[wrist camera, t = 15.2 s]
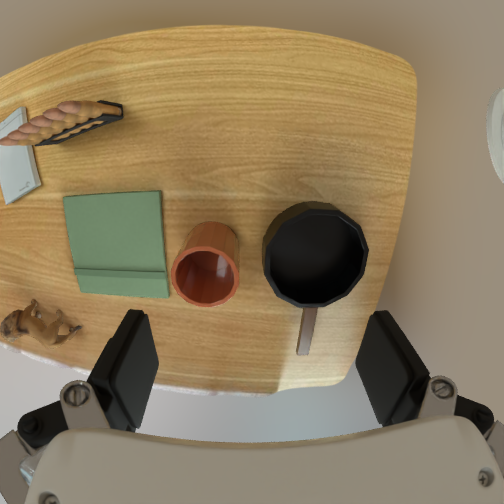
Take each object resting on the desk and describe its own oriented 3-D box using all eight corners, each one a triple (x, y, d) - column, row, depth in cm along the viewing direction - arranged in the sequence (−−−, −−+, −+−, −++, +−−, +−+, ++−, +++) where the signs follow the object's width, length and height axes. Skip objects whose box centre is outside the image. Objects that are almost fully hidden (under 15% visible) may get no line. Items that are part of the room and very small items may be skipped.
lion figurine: (26, 317, 37) (1, 345, 29) (19, 293, 35) (-9, 320, 27) (86, 336, 38) (64, 372, 30) (80, 310, 36) (54, 346, 28)
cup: (239, 221, 32) (239, 246, 25) (238, 272, 35) (238, 307, 27) (184, 221, 32) (168, 246, 24) (187, 271, 34) (174, 306, 27)
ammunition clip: (122, 103, 26) (65, 91, 15) (124, 118, 27) (67, 111, 15) (55, 131, 26) (-8, 137, 15) (56, 144, 27) (-7, 154, 16)
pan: (361, 204, 32) (375, 212, 28) (335, 335, 39) (343, 352, 36) (264, 199, 31) (267, 206, 27) (257, 338, 39) (258, 356, 35)
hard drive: (35, 186, 27) (19, 106, 22) (5, 205, 27) (-11, 132, 23) (42, 184, 29) (26, 106, 24) (11, 203, 29) (-4, 131, 24)
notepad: (160, 190, 30) (158, 191, 29) (169, 295, 36) (168, 299, 34) (65, 196, 29) (61, 198, 28) (83, 289, 35) (79, 293, 34)
